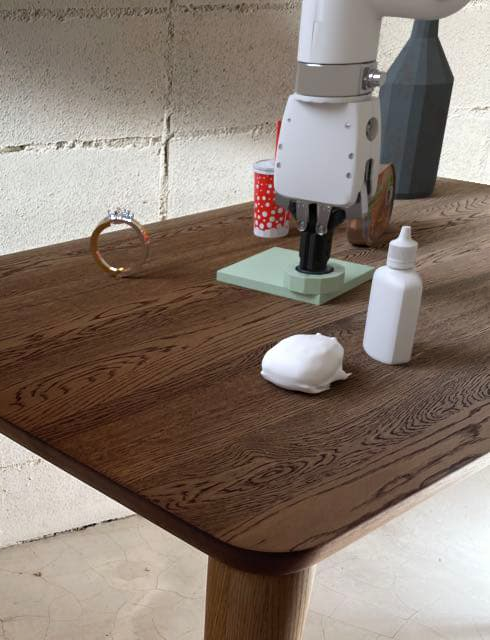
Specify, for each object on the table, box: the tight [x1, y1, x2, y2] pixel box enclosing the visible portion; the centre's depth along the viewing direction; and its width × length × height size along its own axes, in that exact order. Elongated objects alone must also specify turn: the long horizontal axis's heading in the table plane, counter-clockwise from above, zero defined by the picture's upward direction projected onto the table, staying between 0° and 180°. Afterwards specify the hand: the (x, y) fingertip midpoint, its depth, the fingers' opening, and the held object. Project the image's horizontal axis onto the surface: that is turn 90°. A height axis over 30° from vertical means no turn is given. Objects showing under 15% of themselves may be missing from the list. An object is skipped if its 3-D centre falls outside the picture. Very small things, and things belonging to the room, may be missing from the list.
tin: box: [345, 163, 396, 247], centre depth 113 cm, size 15×3×8 cm, turn 150°
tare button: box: [298, 264, 332, 275], centre depth 97 cm, size 4×4×2 cm
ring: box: [89, 206, 150, 279], centre depth 104 cm, size 7×3×8 cm, turn 66°
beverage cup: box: [251, 120, 292, 239], centre depth 114 cm, size 6×6×14 cm
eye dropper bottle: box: [362, 225, 424, 366], centre depth 80 cm, size 4×6×12 cm
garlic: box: [260, 332, 353, 394], centre depth 79 cm, size 8×7×4 cm
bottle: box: [377, 19, 455, 200], centre depth 125 cm, size 10×10×30 cm
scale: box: [216, 246, 377, 306], centre depth 101 cm, size 15×13×3 cm
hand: (313, 266), depth 96 cm, fingers closed
